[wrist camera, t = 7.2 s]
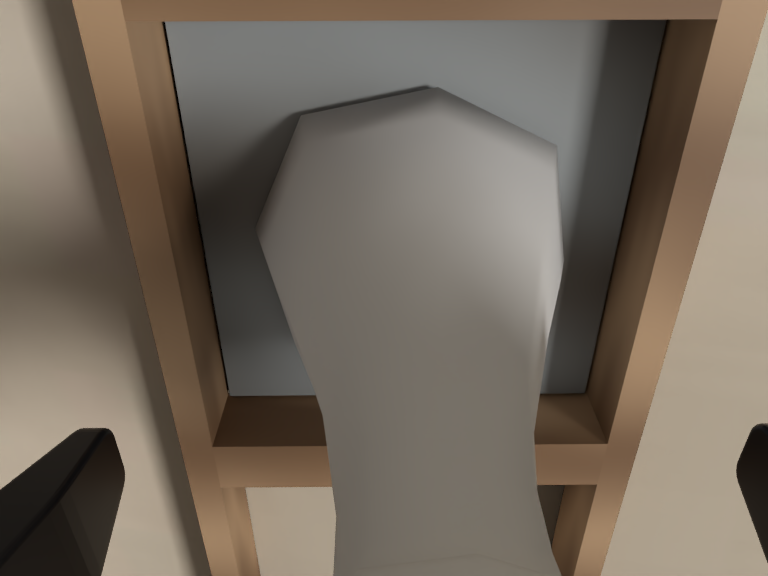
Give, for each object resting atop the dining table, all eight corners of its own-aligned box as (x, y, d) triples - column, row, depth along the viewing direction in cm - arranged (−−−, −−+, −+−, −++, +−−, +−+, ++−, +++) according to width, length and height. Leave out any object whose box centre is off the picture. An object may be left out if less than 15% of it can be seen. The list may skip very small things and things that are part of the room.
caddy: (553, 635, 24) (566, 691, 22) (250, 638, 24) (240, 694, 22) (722, -44, 12) (780, -35, 10) (109, -42, 12) (64, -32, 10)
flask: (255, 347, 16) (123, 827, 8) (260, 61, 13) (16, 396, 4) (524, 371, 17) (672, 848, 8) (607, 104, 13) (1024, 480, 5)
